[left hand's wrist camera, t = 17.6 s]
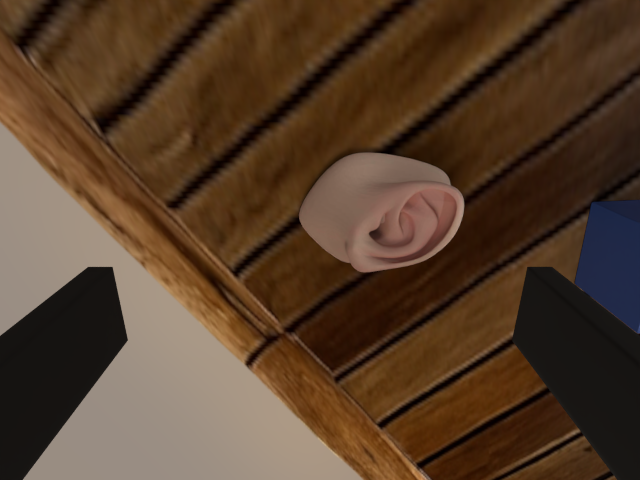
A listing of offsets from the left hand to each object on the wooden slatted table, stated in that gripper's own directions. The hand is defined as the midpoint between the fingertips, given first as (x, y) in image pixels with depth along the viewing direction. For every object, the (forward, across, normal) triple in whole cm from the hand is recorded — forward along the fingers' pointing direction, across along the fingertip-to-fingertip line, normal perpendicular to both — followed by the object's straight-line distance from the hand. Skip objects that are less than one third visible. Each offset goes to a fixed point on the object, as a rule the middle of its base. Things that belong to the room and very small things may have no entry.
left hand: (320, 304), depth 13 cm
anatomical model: (+24, +5, -4) cm, 25 cm away
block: (+24, +28, -8) cm, 38 cm away
